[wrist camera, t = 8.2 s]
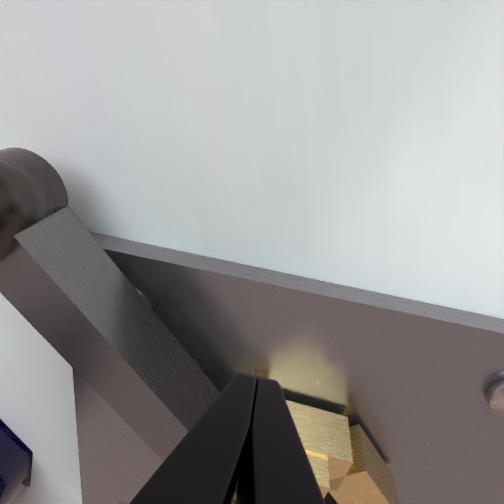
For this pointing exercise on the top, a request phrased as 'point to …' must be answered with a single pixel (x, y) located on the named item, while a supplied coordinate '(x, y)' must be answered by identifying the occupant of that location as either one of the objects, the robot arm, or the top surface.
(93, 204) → the top surface
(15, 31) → the top surface
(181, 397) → the lever handle
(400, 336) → the flange plate
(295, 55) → the top surface
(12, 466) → the bottle
